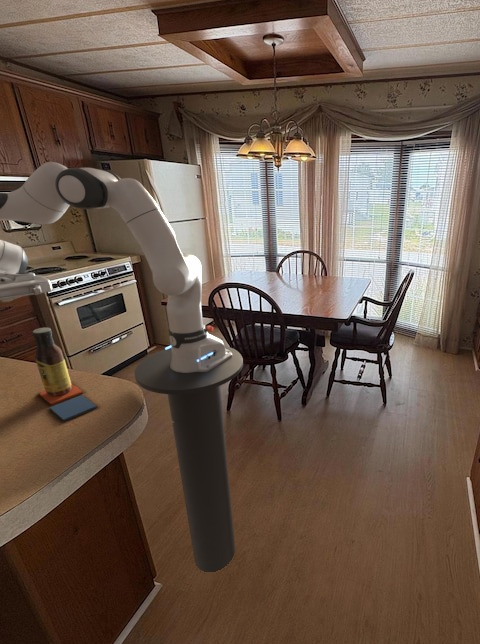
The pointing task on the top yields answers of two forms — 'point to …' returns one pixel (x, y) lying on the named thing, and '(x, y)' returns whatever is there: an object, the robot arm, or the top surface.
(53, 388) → the sauce bottle
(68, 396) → the terracotta pad
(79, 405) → the blue pad
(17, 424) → the top surface
